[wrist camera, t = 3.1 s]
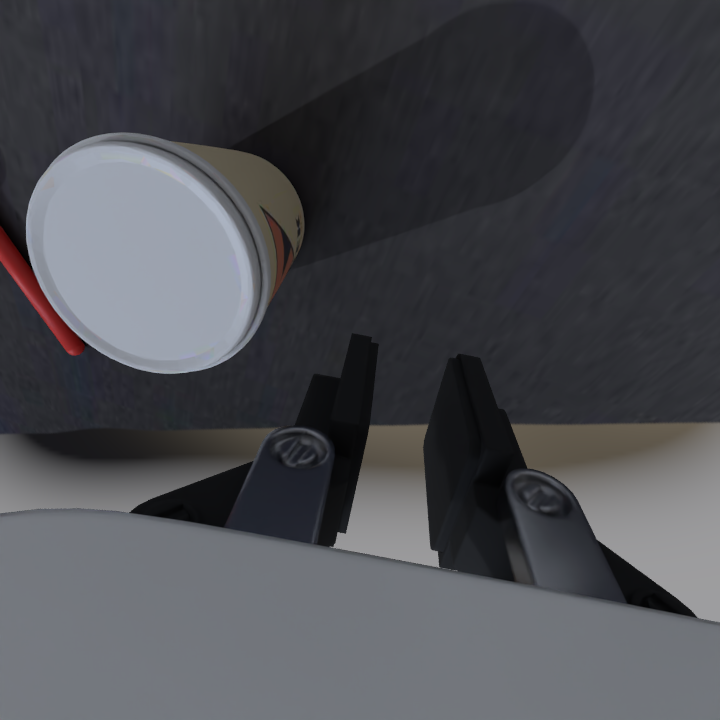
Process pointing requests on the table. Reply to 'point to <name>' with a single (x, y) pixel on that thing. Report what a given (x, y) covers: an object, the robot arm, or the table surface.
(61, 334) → the spoon
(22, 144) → the table surface
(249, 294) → the coffee cup
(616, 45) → the table surface
